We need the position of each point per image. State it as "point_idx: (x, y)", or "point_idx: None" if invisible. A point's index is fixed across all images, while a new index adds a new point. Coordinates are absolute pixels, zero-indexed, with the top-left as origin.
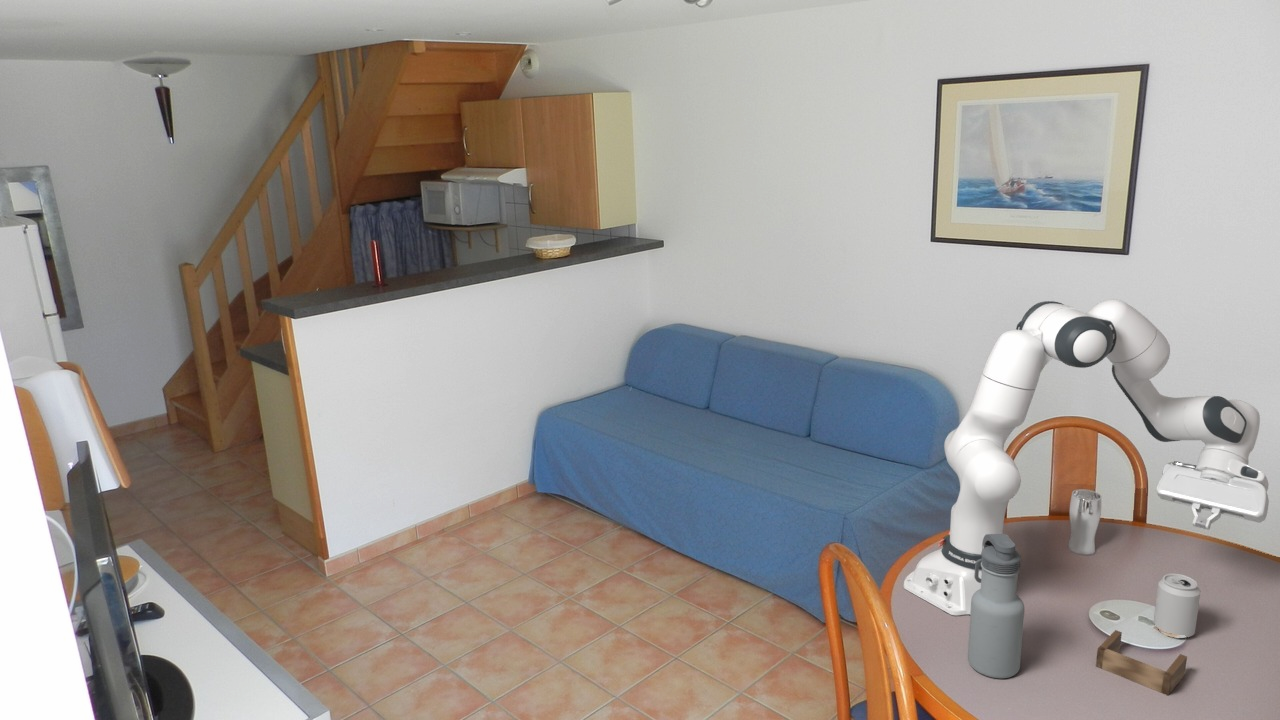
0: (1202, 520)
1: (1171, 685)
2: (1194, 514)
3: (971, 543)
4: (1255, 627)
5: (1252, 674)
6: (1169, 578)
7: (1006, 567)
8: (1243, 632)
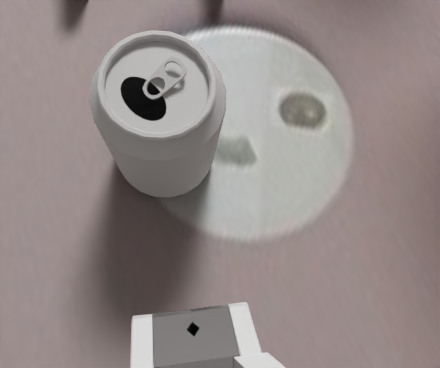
0: (187, 340)
1: None
2: (272, 363)
3: None
4: (15, 344)
5: None
6: (198, 92)
7: None
8: (32, 287)
